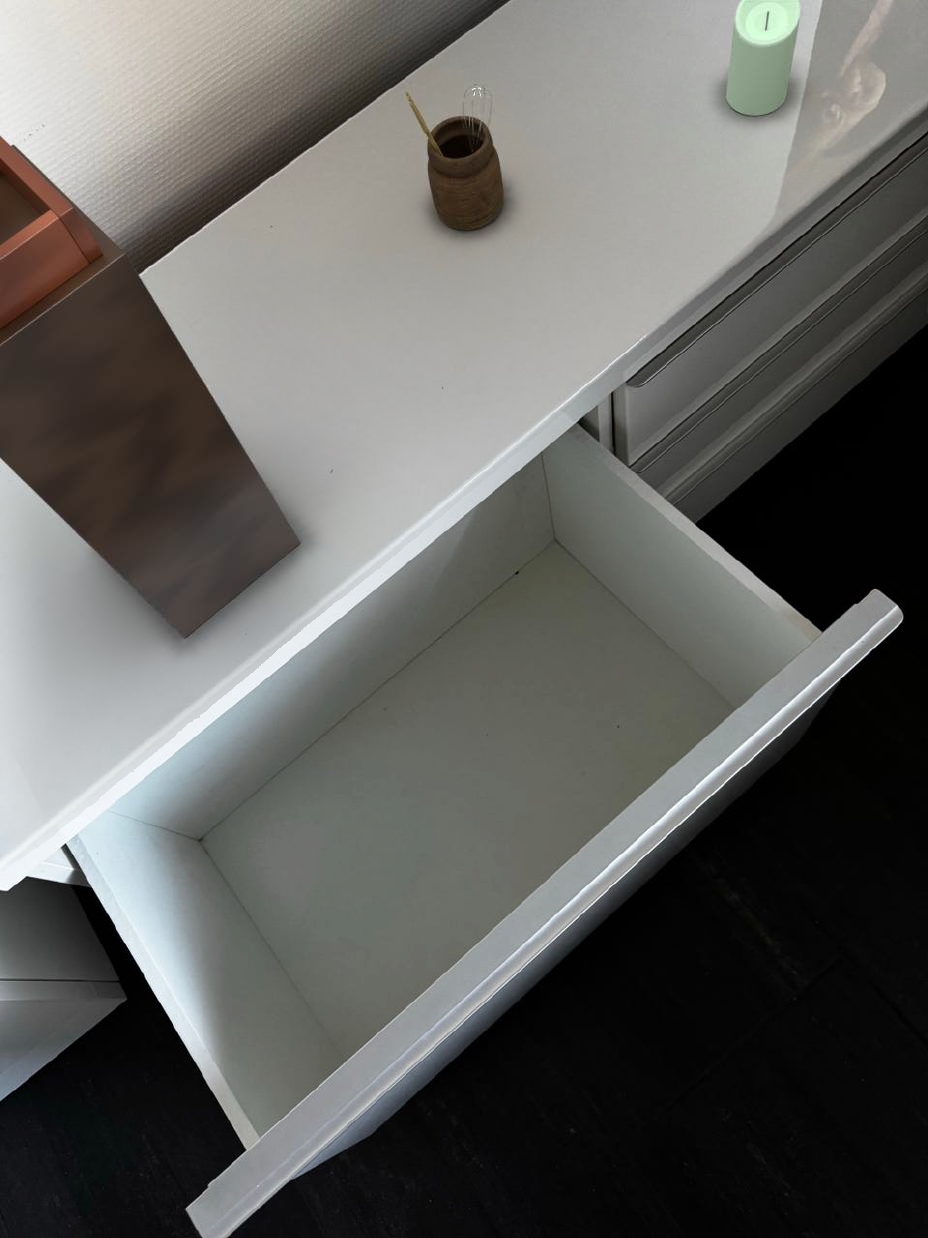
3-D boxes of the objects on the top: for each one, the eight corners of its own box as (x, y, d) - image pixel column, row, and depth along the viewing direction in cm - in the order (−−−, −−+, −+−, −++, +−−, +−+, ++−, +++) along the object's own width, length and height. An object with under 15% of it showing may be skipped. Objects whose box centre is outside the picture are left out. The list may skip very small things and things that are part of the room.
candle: (779, 119, 86) (795, 30, 79) (719, 113, 88) (729, 24, 80) (791, 77, 88) (807, -15, 81) (732, 71, 89) (743, -20, 82)
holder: (184, 639, 75) (-108, 352, 45) (105, 544, 79) (-211, 223, 49) (301, 542, 76) (97, 205, 46) (217, 454, 81) (-20, 93, 51)
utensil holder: (514, 219, 86) (499, 96, 75) (442, 242, 86) (417, 123, 75) (493, 170, 88) (476, 44, 78) (424, 193, 88) (397, 70, 78)
